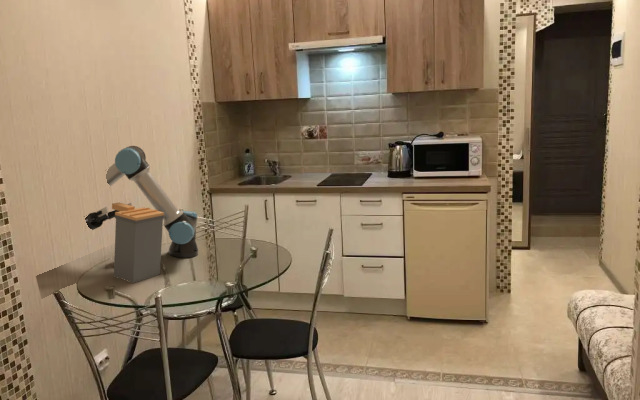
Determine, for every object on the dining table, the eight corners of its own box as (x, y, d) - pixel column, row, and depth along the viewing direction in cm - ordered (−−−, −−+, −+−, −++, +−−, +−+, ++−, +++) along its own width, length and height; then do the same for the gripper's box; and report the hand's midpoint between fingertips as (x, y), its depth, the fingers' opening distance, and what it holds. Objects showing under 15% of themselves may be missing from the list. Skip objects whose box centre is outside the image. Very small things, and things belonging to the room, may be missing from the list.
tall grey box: (112, 276, 228) (115, 214, 223) (140, 267, 243) (143, 209, 237) (133, 283, 223) (135, 220, 217) (160, 274, 237) (164, 215, 232)
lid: (100, 210, 227) (100, 205, 226) (129, 206, 241) (129, 200, 241) (135, 220, 217) (136, 215, 217) (164, 215, 232) (164, 209, 232)
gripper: (115, 225, 253) (143, 211, 243) (70, 234, 231) (99, 219, 221) (110, 211, 253) (138, 196, 243) (65, 218, 231) (93, 203, 221)
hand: (119, 207), depth 232 cm, fingers open, 13 cm apart
